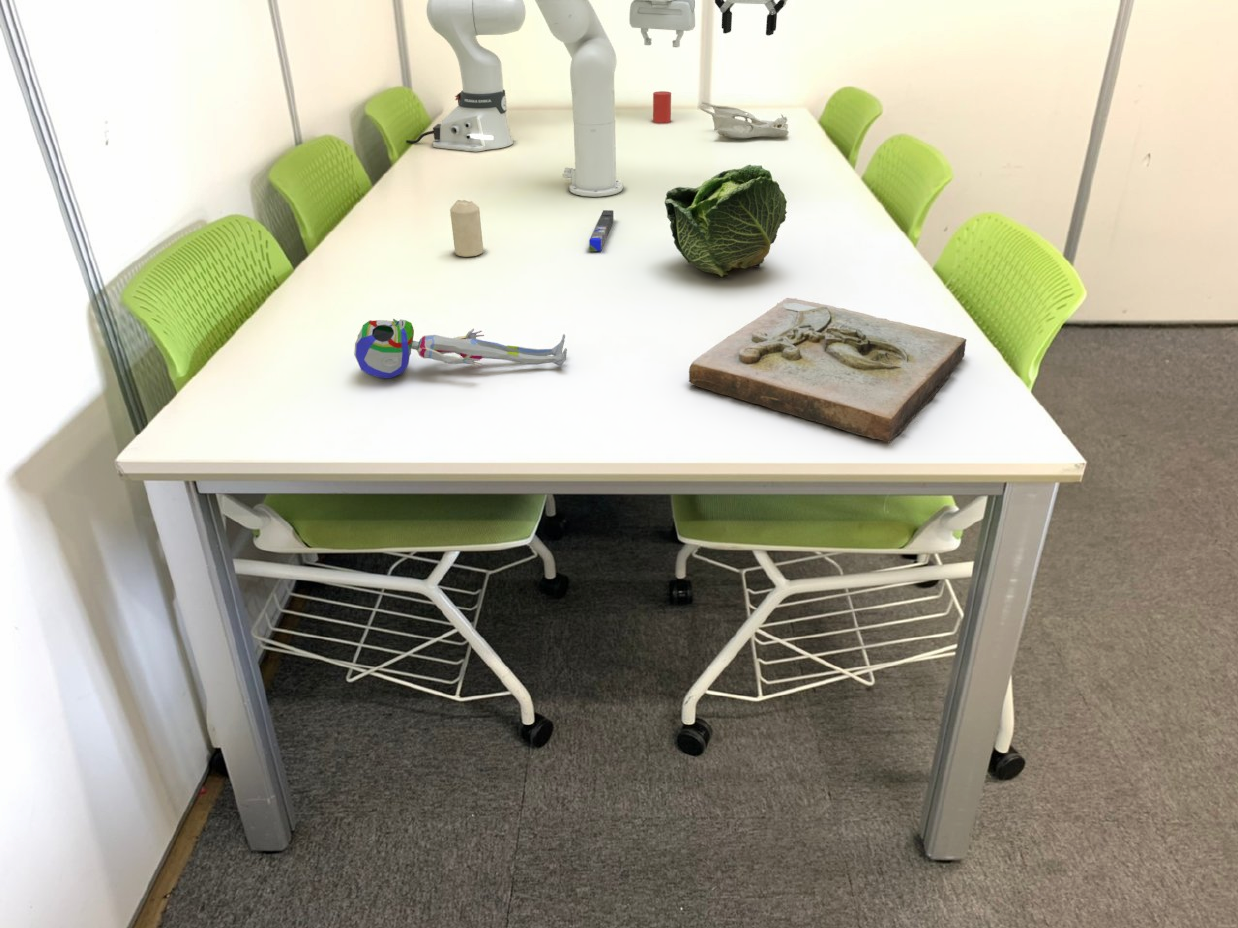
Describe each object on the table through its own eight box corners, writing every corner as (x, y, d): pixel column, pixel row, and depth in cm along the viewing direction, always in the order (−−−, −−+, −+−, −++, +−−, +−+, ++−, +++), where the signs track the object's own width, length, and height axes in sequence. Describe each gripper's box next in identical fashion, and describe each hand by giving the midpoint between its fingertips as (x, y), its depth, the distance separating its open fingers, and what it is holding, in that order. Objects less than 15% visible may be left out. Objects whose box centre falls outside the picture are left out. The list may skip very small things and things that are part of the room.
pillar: (613, 210, 190) (600, 241, 173) (613, 220, 191) (600, 251, 174) (603, 210, 190) (589, 240, 173) (603, 220, 191) (589, 251, 174)
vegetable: (694, 294, 173) (643, 202, 166) (775, 239, 175) (728, 145, 167) (734, 307, 155) (678, 205, 147) (824, 245, 156) (773, 141, 149)
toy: (569, 347, 126) (349, 329, 122) (563, 400, 131) (350, 385, 126) (565, 318, 135) (359, 301, 130) (559, 369, 139) (360, 354, 134)
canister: (673, 122, 274) (673, 94, 269) (656, 124, 272) (657, 95, 268) (666, 119, 278) (667, 90, 274) (650, 120, 277) (650, 92, 272)
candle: (488, 249, 176) (483, 198, 171) (475, 258, 172) (470, 206, 167) (463, 246, 178) (457, 196, 173) (450, 255, 174) (443, 204, 168)
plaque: (899, 396, 108) (687, 337, 122) (890, 447, 111) (686, 383, 126) (977, 316, 128) (788, 274, 143) (967, 361, 132) (784, 315, 147)
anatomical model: (702, 99, 259) (790, 97, 255) (702, 132, 264) (788, 131, 260) (698, 109, 247) (790, 108, 243) (698, 144, 252) (788, 143, 248)
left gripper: (699, -7, 255) (698, 47, 262) (637, -9, 264) (637, 42, 271) (689, -4, 250) (688, 50, 258) (626, -7, 259) (627, 45, 266)
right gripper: (800, -59, 182) (792, 33, 191) (720, -60, 189) (717, 30, 198) (788, -58, 177) (781, 38, 186) (707, -58, 183) (704, 34, 193)
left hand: (661, 46), depth 264 cm, fingers open, 8 cm apart
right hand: (748, 33), depth 192 cm, fingers open, 9 cm apart
